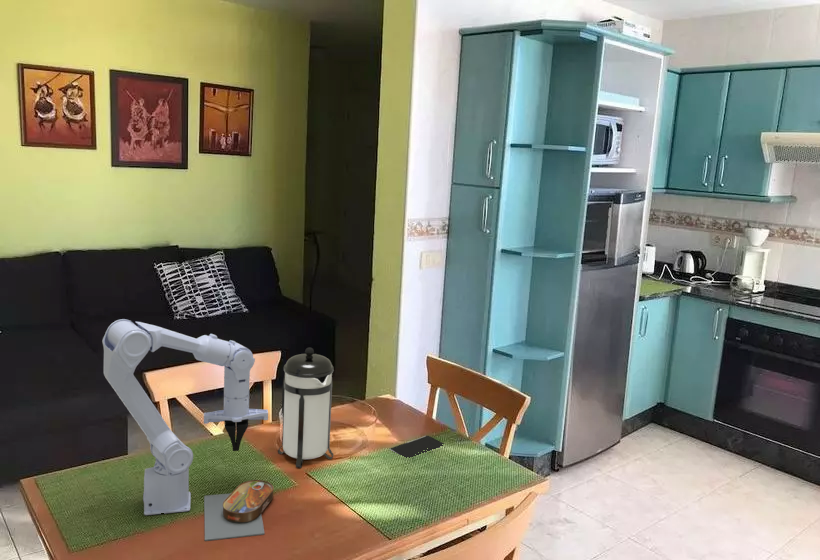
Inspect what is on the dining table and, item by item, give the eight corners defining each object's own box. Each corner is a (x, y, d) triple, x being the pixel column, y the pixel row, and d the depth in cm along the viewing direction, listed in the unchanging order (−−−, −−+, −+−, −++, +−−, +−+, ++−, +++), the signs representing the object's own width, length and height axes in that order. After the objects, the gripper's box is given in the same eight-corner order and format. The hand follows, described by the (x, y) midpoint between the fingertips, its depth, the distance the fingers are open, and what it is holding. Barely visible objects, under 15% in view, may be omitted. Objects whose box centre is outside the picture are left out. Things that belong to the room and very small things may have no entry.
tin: (252, 515, 139) (215, 506, 141) (250, 528, 140) (214, 519, 141) (279, 482, 154) (246, 475, 155) (278, 495, 154) (245, 487, 156)
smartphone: (388, 448, 181) (427, 434, 191) (388, 452, 181) (427, 438, 191) (408, 459, 175) (447, 444, 185) (407, 463, 176) (446, 448, 186)
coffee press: (341, 446, 182) (346, 342, 176) (323, 472, 166) (328, 359, 161) (281, 438, 184) (285, 335, 179) (259, 462, 169) (262, 351, 164)
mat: (204, 541, 134) (204, 539, 134) (204, 496, 151) (204, 495, 151) (264, 534, 138) (264, 533, 138) (257, 492, 155) (257, 490, 154)
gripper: (203, 402, 146) (203, 459, 149) (269, 399, 151) (268, 454, 153) (203, 391, 153) (203, 445, 156) (267, 388, 157) (265, 441, 160)
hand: (235, 449), depth 155 cm, fingers closed
